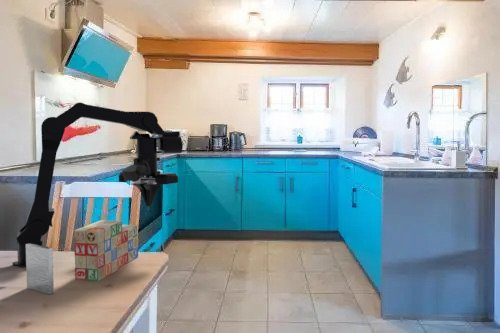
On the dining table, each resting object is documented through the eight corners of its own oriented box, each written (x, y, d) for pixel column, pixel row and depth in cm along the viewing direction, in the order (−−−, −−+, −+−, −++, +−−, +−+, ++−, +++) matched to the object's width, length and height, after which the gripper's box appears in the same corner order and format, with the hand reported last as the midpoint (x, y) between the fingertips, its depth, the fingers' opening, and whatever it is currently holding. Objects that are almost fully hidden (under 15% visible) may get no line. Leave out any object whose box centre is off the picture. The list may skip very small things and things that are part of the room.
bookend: (26, 288, 96) (25, 244, 96) (31, 286, 97) (29, 243, 96) (49, 294, 92) (48, 248, 92) (53, 293, 93) (52, 247, 92)
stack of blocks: (118, 256, 123) (117, 213, 122) (138, 257, 122) (138, 214, 121) (74, 280, 102) (73, 229, 101) (98, 281, 101) (97, 230, 100)
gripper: (103, 155, 124) (105, 208, 125) (152, 156, 115) (154, 213, 117) (131, 153, 134) (132, 202, 135) (178, 154, 125) (179, 206, 126)
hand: (148, 206), depth 128 cm, fingers closed
